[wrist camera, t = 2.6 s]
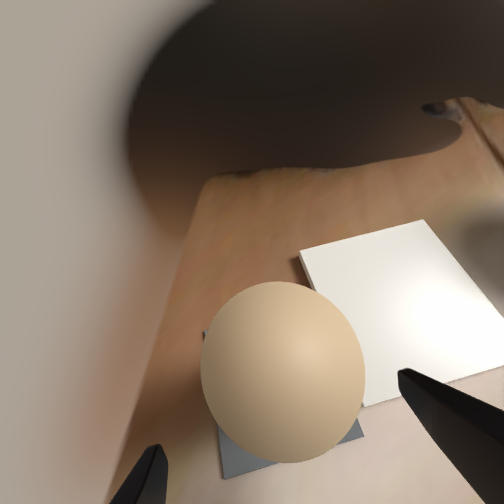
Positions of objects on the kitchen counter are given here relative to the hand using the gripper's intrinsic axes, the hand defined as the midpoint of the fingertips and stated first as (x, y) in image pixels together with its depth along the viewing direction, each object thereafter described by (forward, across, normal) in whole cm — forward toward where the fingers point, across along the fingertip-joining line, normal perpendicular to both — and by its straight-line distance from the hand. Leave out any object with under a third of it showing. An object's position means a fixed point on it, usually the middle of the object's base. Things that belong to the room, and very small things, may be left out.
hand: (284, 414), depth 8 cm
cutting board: (+9, -11, +3) cm, 15 cm away
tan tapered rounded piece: (+7, 0, +5) cm, 9 cm away
